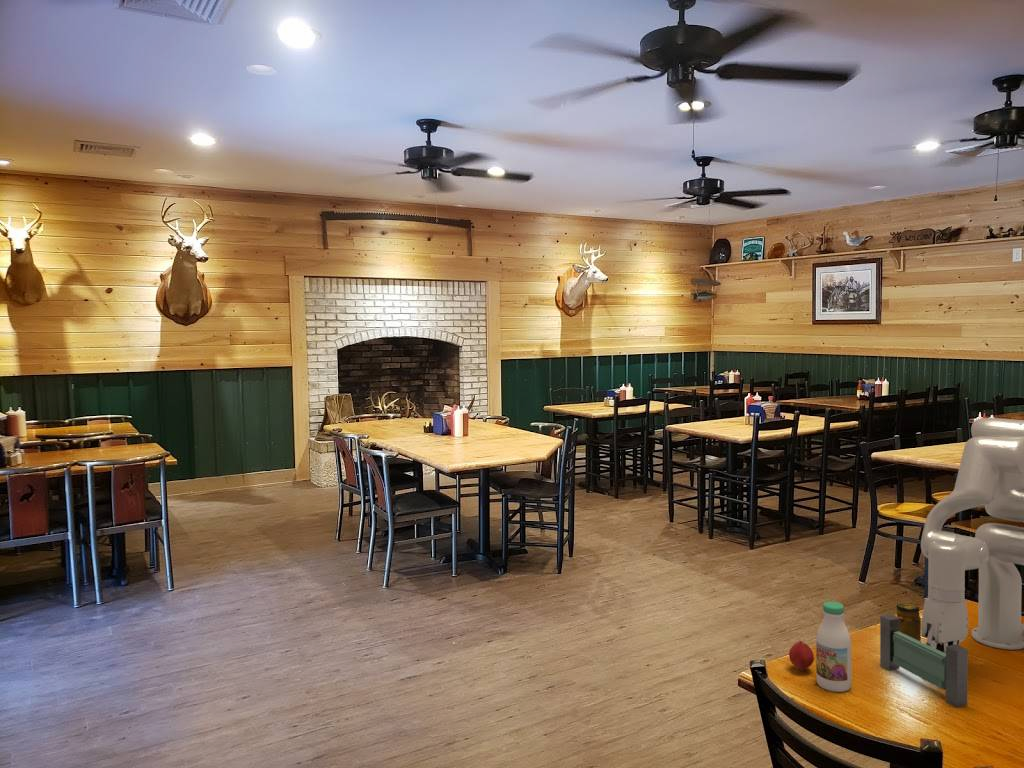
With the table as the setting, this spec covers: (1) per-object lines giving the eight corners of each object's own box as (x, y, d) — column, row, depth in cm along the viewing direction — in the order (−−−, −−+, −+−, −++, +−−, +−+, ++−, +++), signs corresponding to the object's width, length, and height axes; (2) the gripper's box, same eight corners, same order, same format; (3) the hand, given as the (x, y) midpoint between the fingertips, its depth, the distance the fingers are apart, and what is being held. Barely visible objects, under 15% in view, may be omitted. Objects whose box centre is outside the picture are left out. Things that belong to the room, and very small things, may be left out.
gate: (949, 689, 169) (949, 655, 169) (942, 690, 169) (942, 657, 168) (898, 662, 183) (898, 631, 182) (892, 663, 182) (892, 632, 182)
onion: (785, 665, 188) (784, 635, 187) (806, 664, 188) (806, 633, 188) (795, 676, 182) (795, 645, 181) (818, 674, 182) (817, 643, 182)
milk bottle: (824, 674, 183) (823, 596, 181) (856, 684, 177) (856, 603, 175) (811, 685, 177) (810, 605, 176) (843, 696, 172) (843, 613, 170)
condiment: (900, 641, 199) (900, 598, 198) (933, 651, 192) (934, 607, 191) (888, 650, 194) (888, 606, 193) (922, 660, 188) (922, 615, 187)
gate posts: (889, 663, 187) (889, 613, 186) (967, 705, 166) (967, 649, 165) (880, 665, 186) (880, 615, 185) (957, 707, 165) (957, 651, 164)
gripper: (956, 583, 182) (955, 655, 183) (908, 592, 177) (908, 666, 178) (984, 593, 174) (983, 668, 176) (935, 603, 170) (934, 680, 171)
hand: (945, 667), depth 177 cm, fingers closed
